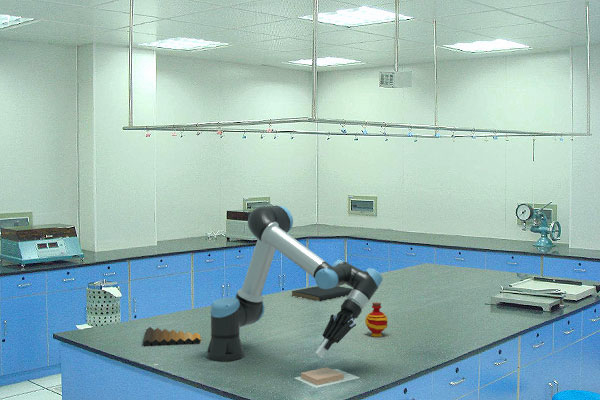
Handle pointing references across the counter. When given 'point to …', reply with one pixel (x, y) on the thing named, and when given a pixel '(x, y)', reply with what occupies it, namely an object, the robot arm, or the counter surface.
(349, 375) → the white rectangular board
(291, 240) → the robot arm
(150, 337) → the pan flute
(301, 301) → the counter surface
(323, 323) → the counter surface
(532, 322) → the counter surface
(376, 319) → the potion bottle
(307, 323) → the counter surface
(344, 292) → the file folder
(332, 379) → the terracotta tile
